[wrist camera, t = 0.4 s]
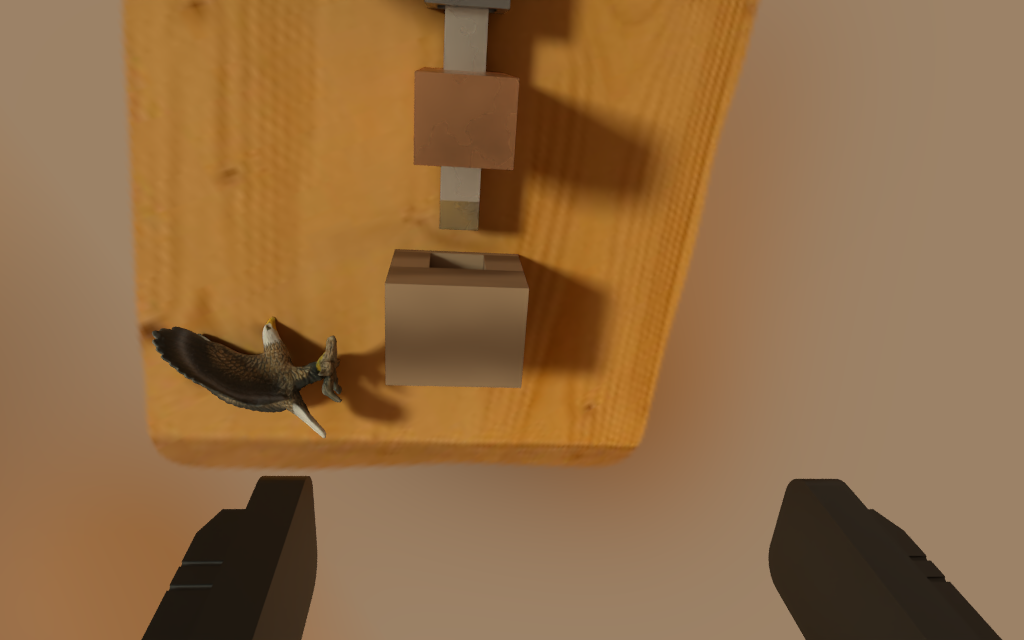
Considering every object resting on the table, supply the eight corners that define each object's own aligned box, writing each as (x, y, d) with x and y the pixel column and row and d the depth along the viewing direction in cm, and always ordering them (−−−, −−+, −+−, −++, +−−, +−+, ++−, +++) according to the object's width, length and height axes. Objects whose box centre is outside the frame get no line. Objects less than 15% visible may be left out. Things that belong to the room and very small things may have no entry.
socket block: (395, 249, 37) (384, 283, 32) (517, 254, 38) (529, 288, 32) (395, 338, 39) (385, 385, 34) (511, 341, 40) (521, 387, 34)
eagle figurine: (331, 276, 36) (152, 288, 34) (341, 388, 32) (139, 410, 30) (339, 350, 42) (187, 365, 40) (347, 452, 38) (180, 474, 36)
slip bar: (428, -178, 29) (418, -269, 21) (516, -168, 30) (541, -254, 21) (422, 217, 36) (412, 266, 28) (494, 221, 36) (506, 270, 28)
